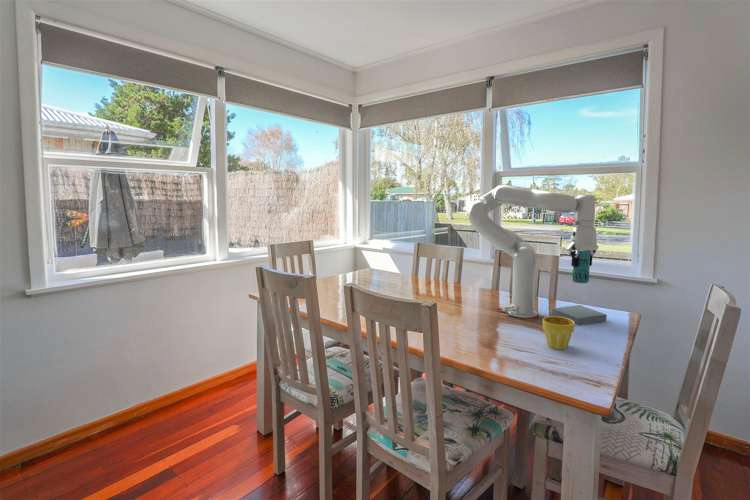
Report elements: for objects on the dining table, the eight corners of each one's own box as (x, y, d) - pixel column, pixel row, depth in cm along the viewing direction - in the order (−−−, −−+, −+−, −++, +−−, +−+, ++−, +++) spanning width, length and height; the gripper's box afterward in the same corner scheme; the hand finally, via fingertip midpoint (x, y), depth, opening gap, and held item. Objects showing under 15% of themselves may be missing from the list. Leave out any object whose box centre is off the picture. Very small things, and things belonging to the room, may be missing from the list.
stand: (577, 325, 166) (577, 318, 165) (552, 314, 180) (552, 308, 179) (606, 321, 170) (606, 314, 169) (579, 311, 184) (579, 305, 184)
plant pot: (560, 354, 137) (561, 327, 136) (535, 344, 147) (536, 318, 145) (579, 348, 142) (581, 322, 141) (554, 339, 151) (555, 314, 150)
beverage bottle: (568, 283, 175) (571, 238, 172) (583, 283, 176) (585, 238, 173) (577, 287, 169) (580, 240, 166) (592, 286, 170) (595, 240, 167)
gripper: (573, 225, 163) (571, 268, 165) (607, 223, 167) (604, 265, 170) (560, 224, 170) (558, 265, 172) (593, 222, 175) (590, 262, 177)
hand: (581, 265), depth 171 cm, fingers closed on beverage bottle, 6 cm apart
